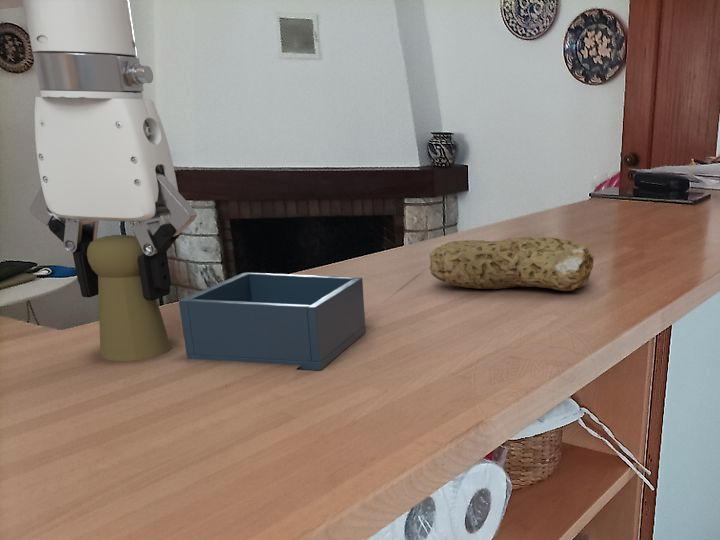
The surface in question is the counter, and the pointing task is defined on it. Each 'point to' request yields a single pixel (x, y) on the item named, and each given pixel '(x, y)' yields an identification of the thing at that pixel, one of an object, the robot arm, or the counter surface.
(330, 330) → the bin
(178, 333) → the counter surface
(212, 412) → the counter surface
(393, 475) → the counter surface
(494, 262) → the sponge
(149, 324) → the cork
